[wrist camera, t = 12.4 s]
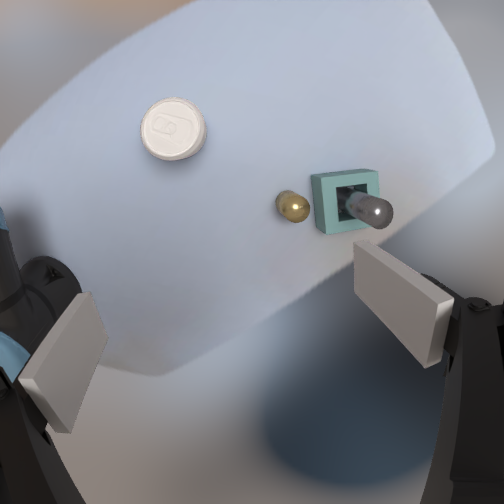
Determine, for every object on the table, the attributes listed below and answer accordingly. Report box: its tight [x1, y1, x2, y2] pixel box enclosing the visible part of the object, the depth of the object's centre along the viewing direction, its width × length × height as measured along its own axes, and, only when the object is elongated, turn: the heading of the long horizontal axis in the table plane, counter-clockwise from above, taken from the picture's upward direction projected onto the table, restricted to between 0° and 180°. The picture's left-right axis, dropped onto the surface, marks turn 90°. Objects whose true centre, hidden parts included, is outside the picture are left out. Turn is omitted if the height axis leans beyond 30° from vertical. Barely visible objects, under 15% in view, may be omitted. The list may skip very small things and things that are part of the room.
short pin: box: [276, 190, 310, 223], centre depth 47 cm, size 4×4×6 cm
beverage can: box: [140, 97, 207, 161], centre depth 39 cm, size 8×8×12 cm
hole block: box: [311, 169, 380, 235], centre depth 48 cm, size 10×9×5 cm
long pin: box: [336, 186, 393, 229], centre depth 44 cm, size 4×4×14 cm
